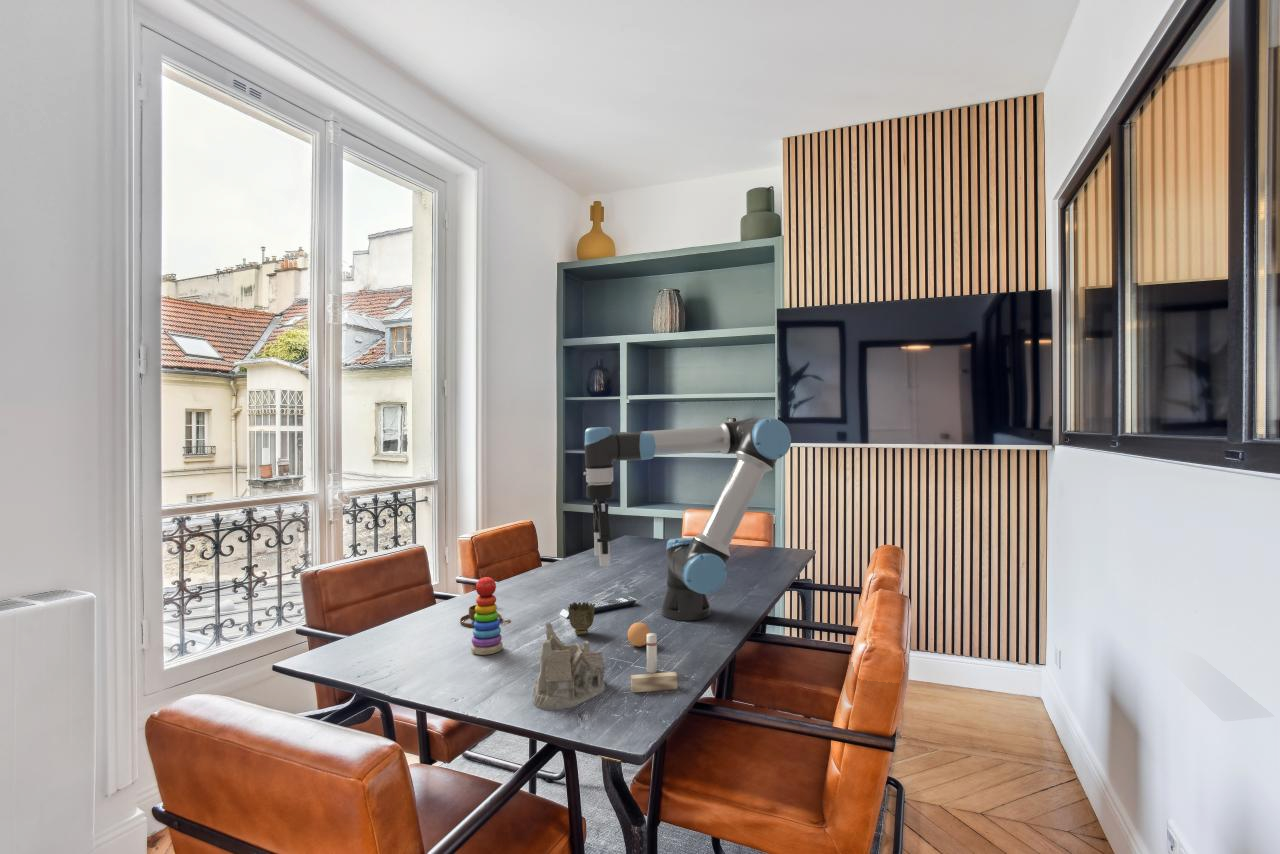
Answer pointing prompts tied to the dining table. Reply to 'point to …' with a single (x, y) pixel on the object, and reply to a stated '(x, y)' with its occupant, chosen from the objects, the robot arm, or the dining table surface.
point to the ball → (638, 634)
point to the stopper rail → (653, 682)
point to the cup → (581, 617)
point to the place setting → (471, 616)
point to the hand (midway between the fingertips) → (602, 560)
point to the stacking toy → (486, 620)
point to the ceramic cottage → (567, 674)
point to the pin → (651, 652)
